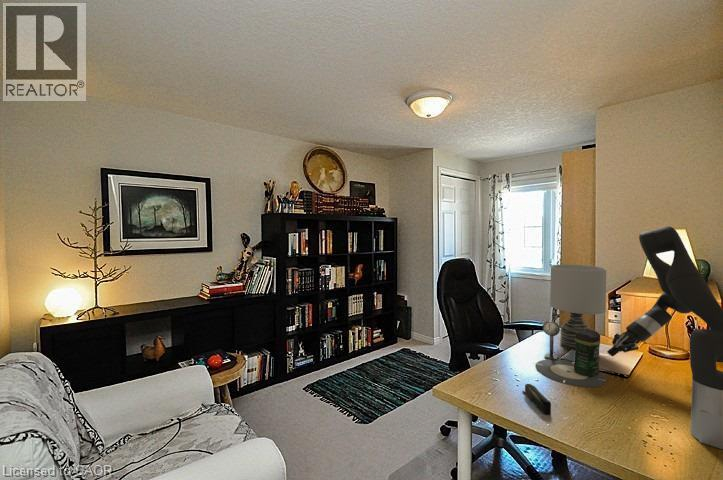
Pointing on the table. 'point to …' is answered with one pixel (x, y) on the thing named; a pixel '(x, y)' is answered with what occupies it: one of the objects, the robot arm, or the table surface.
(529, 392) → the dark elongated block
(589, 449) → the table surface
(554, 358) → the dial gauge
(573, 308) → the lamp
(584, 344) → the coffee jar
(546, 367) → the mat
